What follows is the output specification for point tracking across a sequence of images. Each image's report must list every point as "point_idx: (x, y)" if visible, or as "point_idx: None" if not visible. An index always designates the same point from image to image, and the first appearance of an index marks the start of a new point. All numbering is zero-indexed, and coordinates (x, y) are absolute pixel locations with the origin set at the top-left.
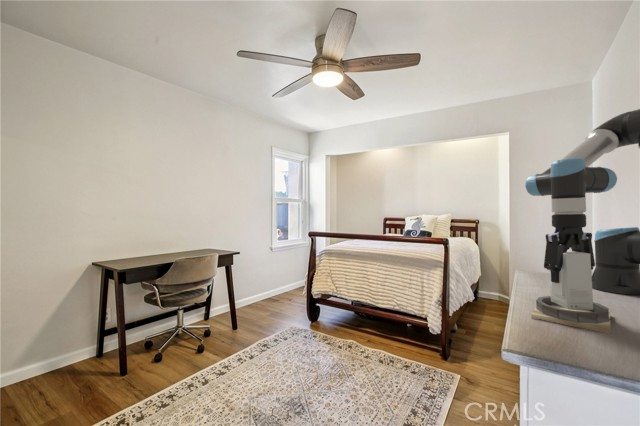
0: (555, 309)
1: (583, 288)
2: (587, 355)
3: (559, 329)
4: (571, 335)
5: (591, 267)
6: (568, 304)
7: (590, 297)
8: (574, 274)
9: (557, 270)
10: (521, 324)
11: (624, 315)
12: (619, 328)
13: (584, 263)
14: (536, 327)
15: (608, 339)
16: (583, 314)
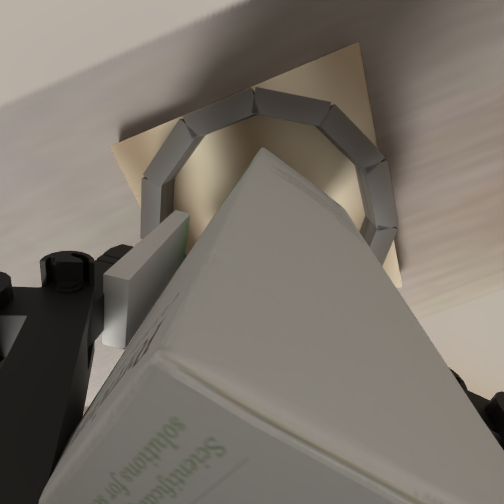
0: (393, 235)
1: (303, 195)
2: None
3: (454, 175)
4: (497, 120)
5: (62, 265)
6: (348, 215)
7: (271, 161)
8: (365, 272)
9: (457, 375)
10: (497, 265)
11: (58, 119)
12: (249, 56)
13: (304, 280)
14: (494, 226)
15: (439, 17)
16: (369, 142)
